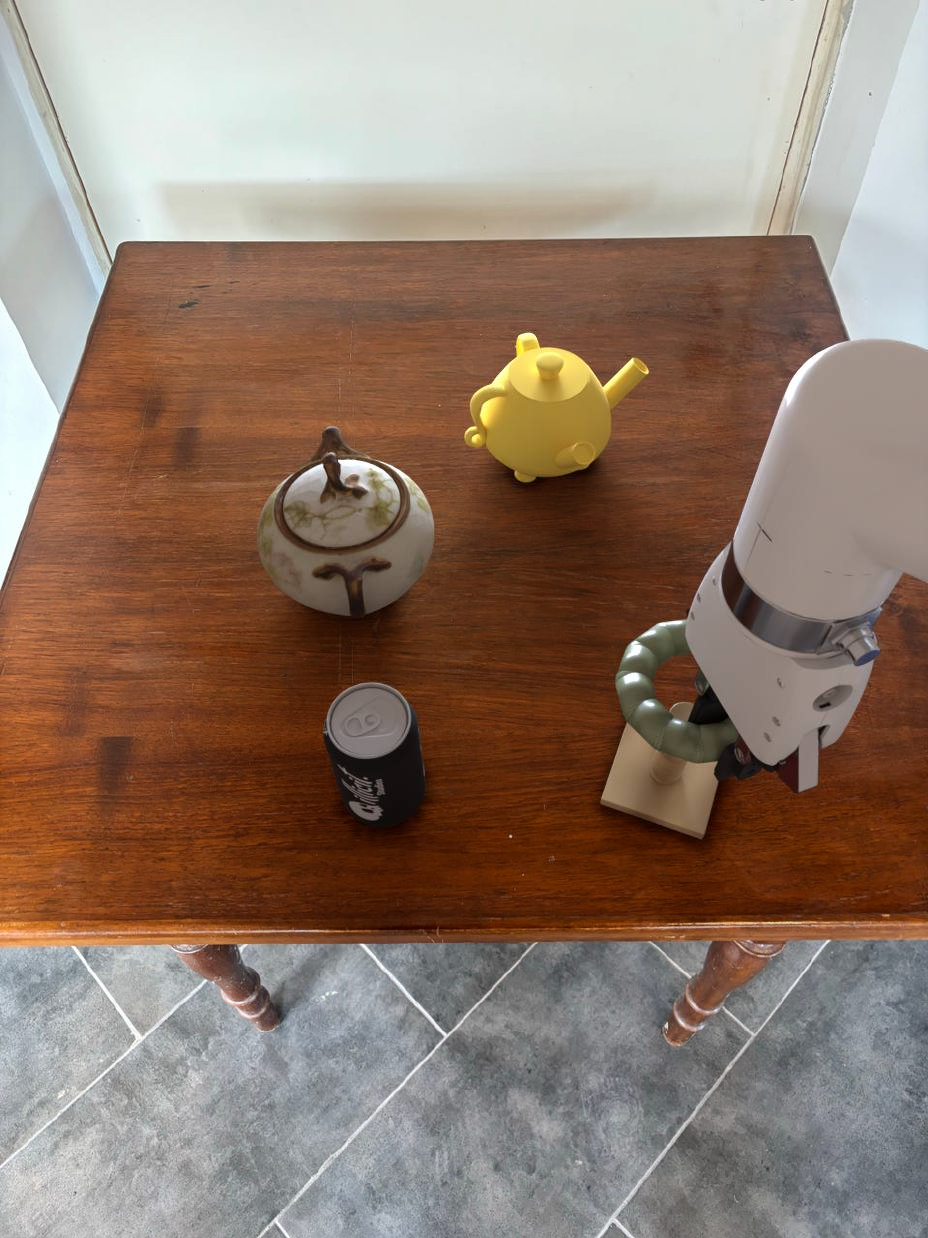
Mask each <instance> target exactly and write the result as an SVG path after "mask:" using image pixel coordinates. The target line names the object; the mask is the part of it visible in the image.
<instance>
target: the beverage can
mask: <svg viewBox="0 0 928 1238" xmlns="http://www.w3.org/2000/svg"><path fill="white" fill-rule="evenodd" d="M420 733H421V732H420V725H419V720H418V717H417V713H416V711H415V709H414V707H413V706H412V705H411V704H410V703H409V702H408V700H407V699H405V697H404V696H403V694H402V693H400V692H399V691H398V690H397V689H395V688H394V687H392V686H390V685H387V684H384V683H381V682H363V683H358V684H356V685H355V684H354V685H353V686H350V687H348V688H347V689H345V690H343V691H342V692H341V693H339V694H338V696H336V698H335V699H334V700H333V702H332V703H331V705H330V706H329V709H328V712H327V715H326V718H325V721H324V725H323V734H322V735H323V742H324V746H325V749H326V753H327V755H328V759H329V761H330V765H331V769H332V772H333V774H334V778H335V782H336V785H337V787H338V790H339V793H340V797H341V800H342V803H343V805H344V807H345V809H346V811H347V812H348V813H349V814H350V815H351V816H352V817H353V818H354V819H355V820H356V821H358V822H359V823H362V824H364V825H367V826H370V827H375V828H387V827H392V826H396V825H399V824H401V823H403V822H405V821H406V820H408V819H409V818H411V817H412V816H413V815H414V814H415V813H416V812H417V810H418V809H419V808H420V807H421V804H422V802H423V801H424V798H425V794H426V789H427V788H426V787H427V783H426V775H425V765H424V757H423V750H422V742H421V735H420Z"/></svg>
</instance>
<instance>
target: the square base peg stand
mask: <svg viewBox="0 0 928 1238" xmlns="http://www.w3.org/2000/svg"><path fill="white" fill-rule="evenodd" d="M693 706H694V703H691V702H688V701H681V702H677V703H675V704H674V705H672V706H671V708H670V709H669V710H668V711H669V712H670V713H671V714H672V715H673V716H674V717H676V718H679V719H682V720H685V721H688V718H689V716H690V713H691V711H692V708H693ZM717 762H718V761H716V762H708V763H700V764H697V763H691V762H689V761H686V760H683V759H680V758H677V757H674V756H671V755H668V754H665V753H663V752H660V751H657V750H655V749H654V748H652V747H651V746H650V745H649V744H648V743H647V742H646V741H645V740H644V739H643V738H642V737H641V736H640V735H639V734H638V733H637V732H636V731H635V730H634V729H633V728H632V727H631V726H630V725H629V723H628V722H627V721H626V724H625V726H624V729H623V732H622V736H621V739H620V742H619V745H618V748H617V749H616V754H615V757H614V758H613V763H612V765H611V768H610V771H609V774H608V777H607V780H606V782H605V783H606V784H605V786H604V789H603V792H602V795H601V799H600V802H599V803H600V805H601V806H605V807H608V808H611V809H614V810H616V811H619V812H623V813H625V814H628V815H631V816H634V817H636V818H639V819H642V820H645V821H648V822H651V823H654V824H657V825H660V826H662V827H665V828H668V829H671V830H673V831H677V832H679V833H682V834H685V835H687V836H690V837H692V838H693V837H694V838H697V839H699V840H703V839H704V837H705V834H706V831H707V827H708V823H709V820H710V816H711V812H712V808H713V805H714V801H715V797H716V793H717V789H718V785H719V782H720V781H717V779H716V777H715V775H714V768H715V766H716V764H717Z"/></svg>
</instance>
